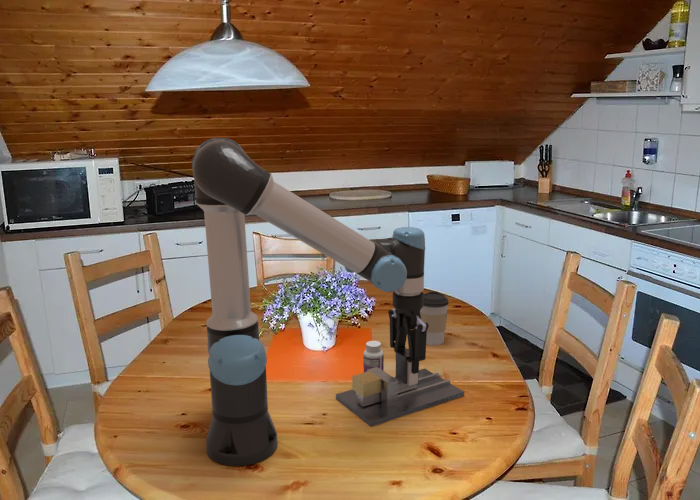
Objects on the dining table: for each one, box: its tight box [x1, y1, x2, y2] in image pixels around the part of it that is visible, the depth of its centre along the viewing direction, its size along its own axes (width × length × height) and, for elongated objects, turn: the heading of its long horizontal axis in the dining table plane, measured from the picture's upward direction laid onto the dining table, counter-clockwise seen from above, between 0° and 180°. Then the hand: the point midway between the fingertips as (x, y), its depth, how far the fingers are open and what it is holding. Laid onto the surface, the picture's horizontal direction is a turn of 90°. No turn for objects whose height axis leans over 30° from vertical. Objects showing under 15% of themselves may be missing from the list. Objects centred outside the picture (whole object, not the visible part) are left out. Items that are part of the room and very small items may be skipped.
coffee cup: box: [420, 290, 449, 346], centre depth 187 cm, size 9×9×15 cm
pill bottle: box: [363, 340, 385, 373], centre depth 164 cm, size 5×5×10 cm
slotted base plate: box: [335, 367, 465, 428], centre depth 153 cm, size 28×16×8 cm, turn 121°
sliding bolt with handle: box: [356, 348, 417, 407], centre depth 150 cm, size 16×4×10 cm, turn 121°
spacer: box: [351, 371, 381, 397], centre depth 147 cm, size 5×5×4 cm
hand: (406, 380), depth 154 cm, fingers closed on sliding bolt with handle, 4 cm apart
